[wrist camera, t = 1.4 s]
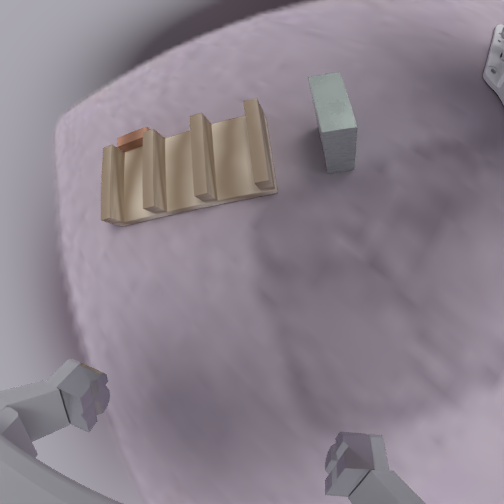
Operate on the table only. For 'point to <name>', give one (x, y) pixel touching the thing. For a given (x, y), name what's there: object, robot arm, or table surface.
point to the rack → (187, 168)
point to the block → (334, 121)
